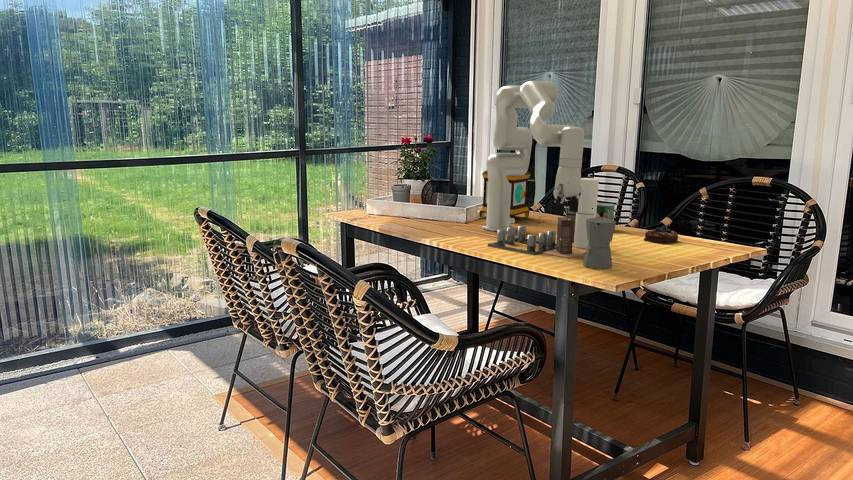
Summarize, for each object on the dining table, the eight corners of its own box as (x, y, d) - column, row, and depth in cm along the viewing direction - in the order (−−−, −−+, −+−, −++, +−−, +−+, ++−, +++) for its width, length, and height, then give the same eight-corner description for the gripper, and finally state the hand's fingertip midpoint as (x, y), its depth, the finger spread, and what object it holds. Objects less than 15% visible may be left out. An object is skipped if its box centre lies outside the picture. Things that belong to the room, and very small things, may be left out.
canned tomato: (614, 229, 282) (616, 204, 280) (610, 232, 275) (612, 206, 273) (595, 227, 286) (597, 202, 284) (591, 230, 279) (593, 204, 277)
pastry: (640, 241, 258) (641, 226, 256) (653, 237, 266) (655, 223, 265) (667, 245, 250) (669, 230, 249) (680, 241, 259) (682, 227, 258)
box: (555, 250, 232) (557, 216, 229) (567, 250, 232) (570, 217, 230) (559, 254, 226) (561, 219, 223) (572, 254, 226) (574, 219, 224)
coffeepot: (610, 272, 203) (614, 215, 200) (579, 269, 207) (583, 212, 203) (615, 262, 217) (619, 208, 214) (586, 259, 221) (590, 206, 217)
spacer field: (518, 239, 253) (519, 223, 252) (564, 247, 240) (565, 231, 239) (487, 246, 239) (488, 229, 238) (534, 254, 226) (535, 237, 225)
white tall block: (569, 245, 245) (574, 178, 240) (585, 244, 247) (590, 177, 243) (581, 249, 238) (586, 180, 233) (597, 247, 241) (602, 179, 236)
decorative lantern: (514, 223, 291) (517, 155, 286) (475, 218, 302) (477, 152, 296) (532, 217, 308) (536, 153, 302) (495, 213, 318) (498, 151, 313)
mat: (560, 249, 237) (561, 247, 237) (585, 253, 230) (585, 252, 230) (542, 253, 228) (542, 252, 228) (568, 258, 221) (568, 257, 221)
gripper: (573, 161, 232) (569, 208, 236) (547, 163, 219) (543, 214, 223) (592, 163, 227) (588, 212, 231) (566, 166, 214) (562, 217, 218)
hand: (566, 213), depth 227 cm, fingers open, 9 cm apart
